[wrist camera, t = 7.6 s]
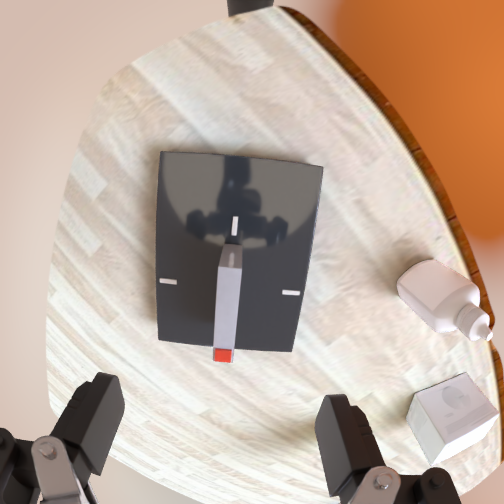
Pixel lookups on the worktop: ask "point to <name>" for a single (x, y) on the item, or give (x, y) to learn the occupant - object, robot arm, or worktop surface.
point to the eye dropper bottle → (444, 299)
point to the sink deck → (238, 233)
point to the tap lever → (227, 302)
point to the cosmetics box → (450, 417)
